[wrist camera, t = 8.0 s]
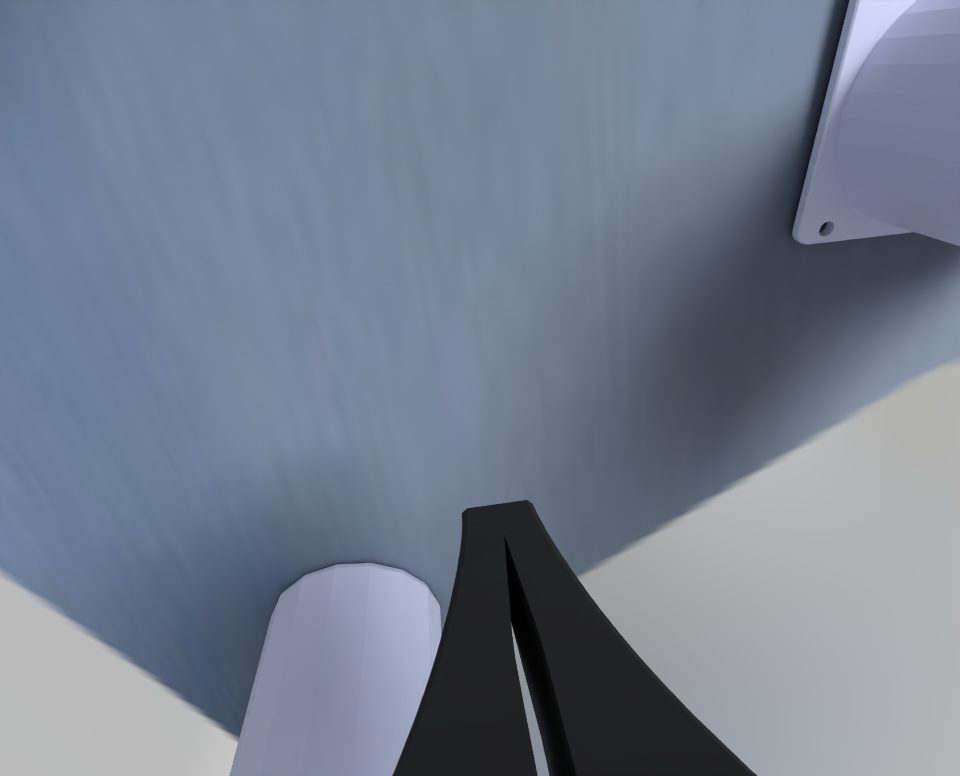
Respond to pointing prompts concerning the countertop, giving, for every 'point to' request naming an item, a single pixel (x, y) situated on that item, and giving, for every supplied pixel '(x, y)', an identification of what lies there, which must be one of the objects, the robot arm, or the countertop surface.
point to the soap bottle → (340, 674)
